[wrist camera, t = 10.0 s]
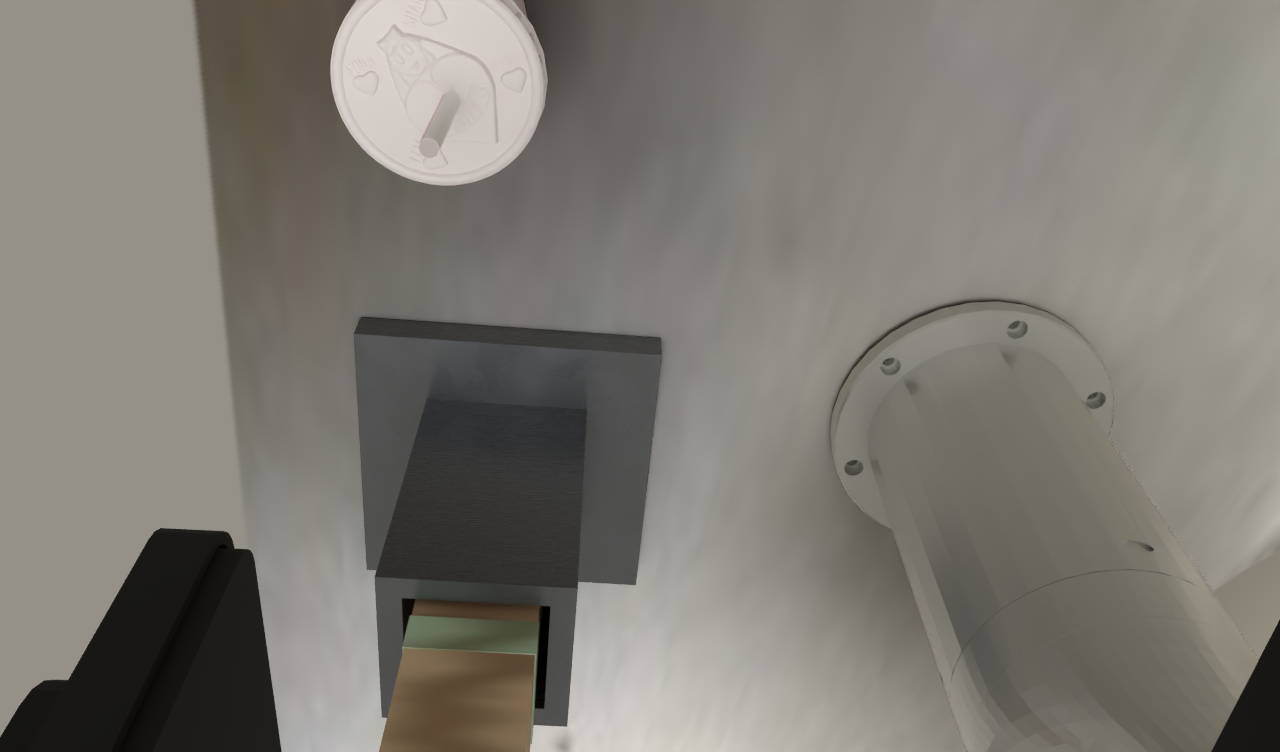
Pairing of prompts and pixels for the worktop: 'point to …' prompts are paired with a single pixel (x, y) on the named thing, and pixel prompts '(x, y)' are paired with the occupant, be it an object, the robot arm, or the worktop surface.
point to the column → (465, 679)
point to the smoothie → (439, 85)
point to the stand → (501, 474)
